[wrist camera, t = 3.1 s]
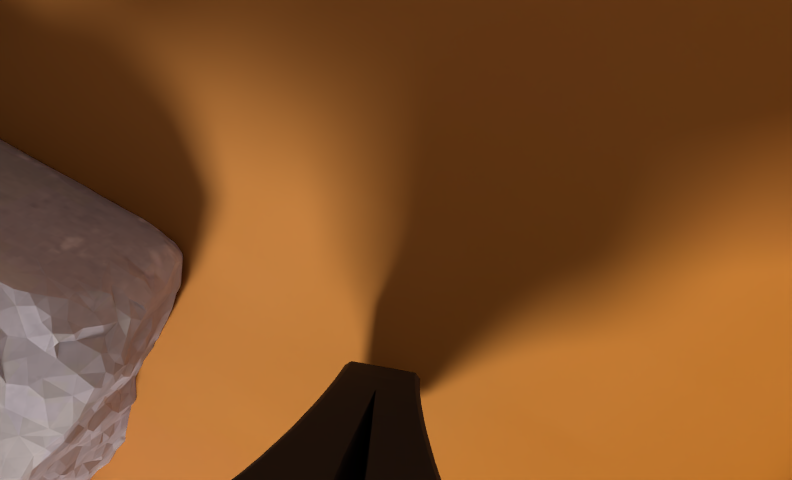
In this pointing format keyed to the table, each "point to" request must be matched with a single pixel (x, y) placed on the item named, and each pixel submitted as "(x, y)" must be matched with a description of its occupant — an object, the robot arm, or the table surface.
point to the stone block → (72, 319)
